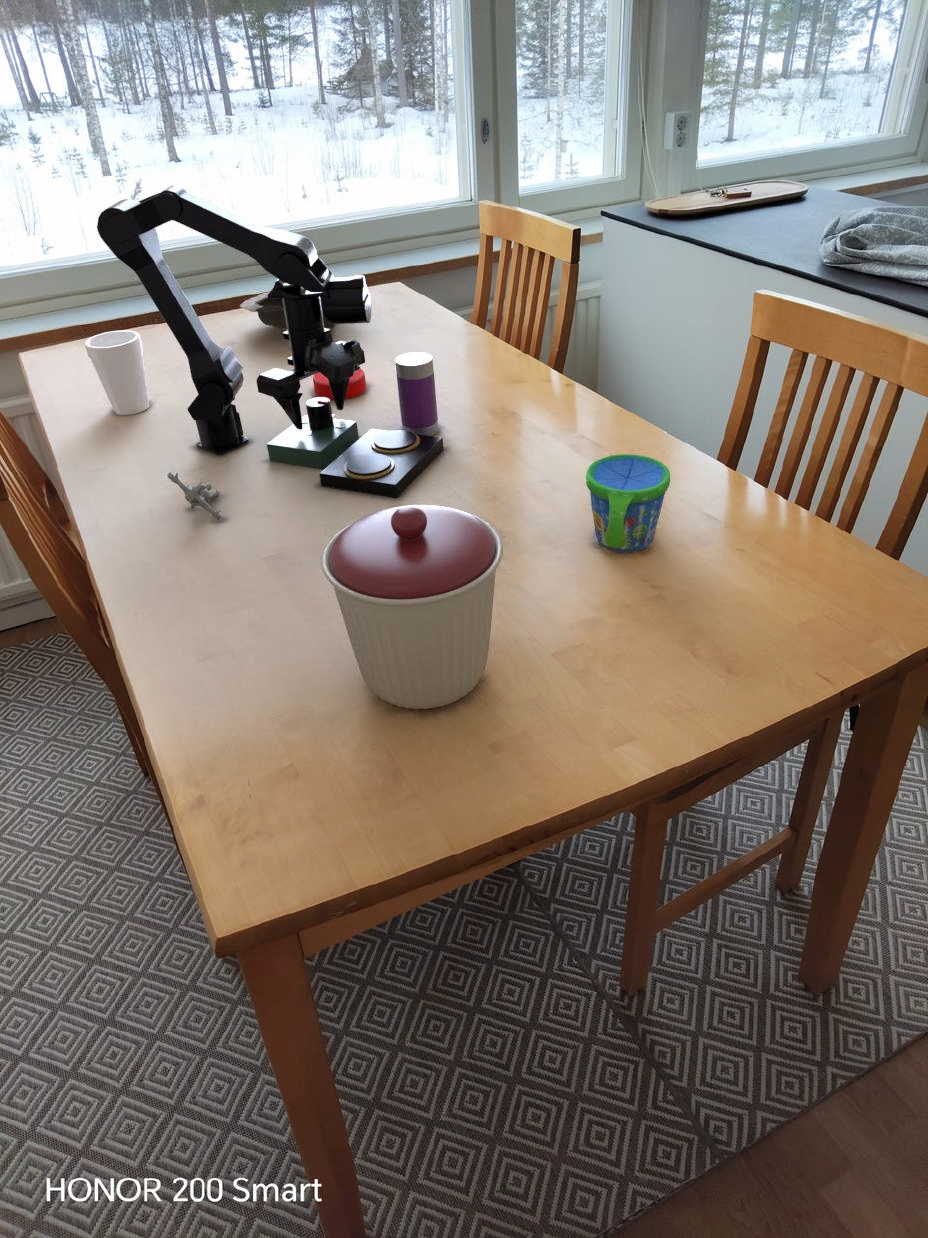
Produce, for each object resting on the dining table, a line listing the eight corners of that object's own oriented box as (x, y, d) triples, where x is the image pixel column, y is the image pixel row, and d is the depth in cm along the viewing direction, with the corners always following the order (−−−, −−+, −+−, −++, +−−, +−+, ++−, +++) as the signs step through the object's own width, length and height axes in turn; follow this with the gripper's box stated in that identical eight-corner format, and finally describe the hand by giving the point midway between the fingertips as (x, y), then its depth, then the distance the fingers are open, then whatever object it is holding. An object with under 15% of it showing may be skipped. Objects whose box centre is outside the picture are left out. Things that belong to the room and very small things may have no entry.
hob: (321, 486, 139) (318, 469, 137) (372, 440, 151) (370, 424, 149) (397, 498, 134) (395, 480, 132) (443, 449, 147) (442, 433, 145)
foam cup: (165, 397, 172) (147, 329, 165) (146, 417, 165) (127, 347, 157) (117, 398, 173) (97, 330, 166) (97, 418, 166) (75, 348, 158)
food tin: (422, 441, 150) (415, 368, 142) (395, 433, 153) (387, 361, 146) (445, 428, 153) (440, 356, 146) (418, 420, 157) (412, 349, 149)
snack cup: (647, 578, 113) (653, 506, 107) (567, 563, 117) (568, 493, 111) (677, 519, 125) (684, 451, 119) (603, 507, 128) (606, 440, 122)
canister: (501, 624, 107) (495, 461, 95) (513, 728, 92) (507, 551, 80) (349, 634, 107) (323, 473, 95) (337, 739, 93) (304, 565, 80)
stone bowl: (339, 344, 190) (329, 299, 185) (230, 351, 196) (218, 309, 191) (371, 305, 209) (363, 264, 204) (272, 313, 215) (261, 273, 210)
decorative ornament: (309, 386, 173) (307, 370, 171) (358, 376, 175) (356, 360, 173) (322, 403, 165) (319, 387, 164) (372, 393, 168) (370, 376, 166)
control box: (269, 461, 147) (266, 443, 145) (311, 428, 157) (308, 411, 155) (323, 468, 144) (320, 450, 142) (362, 435, 153) (359, 417, 151)
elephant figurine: (249, 498, 137) (227, 507, 128) (226, 527, 139) (203, 538, 130) (197, 454, 136) (172, 459, 128) (175, 483, 138) (148, 491, 129)
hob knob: (304, 428, 149) (300, 403, 147) (317, 418, 152) (313, 394, 150) (326, 430, 148) (322, 405, 145) (338, 421, 151) (334, 396, 148)
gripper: (295, 352, 130) (312, 451, 140) (384, 315, 142) (394, 409, 151) (245, 339, 136) (264, 435, 146) (334, 305, 148) (347, 396, 157)
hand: (320, 419), depth 150 cm, fingers open, 9 cm apart
